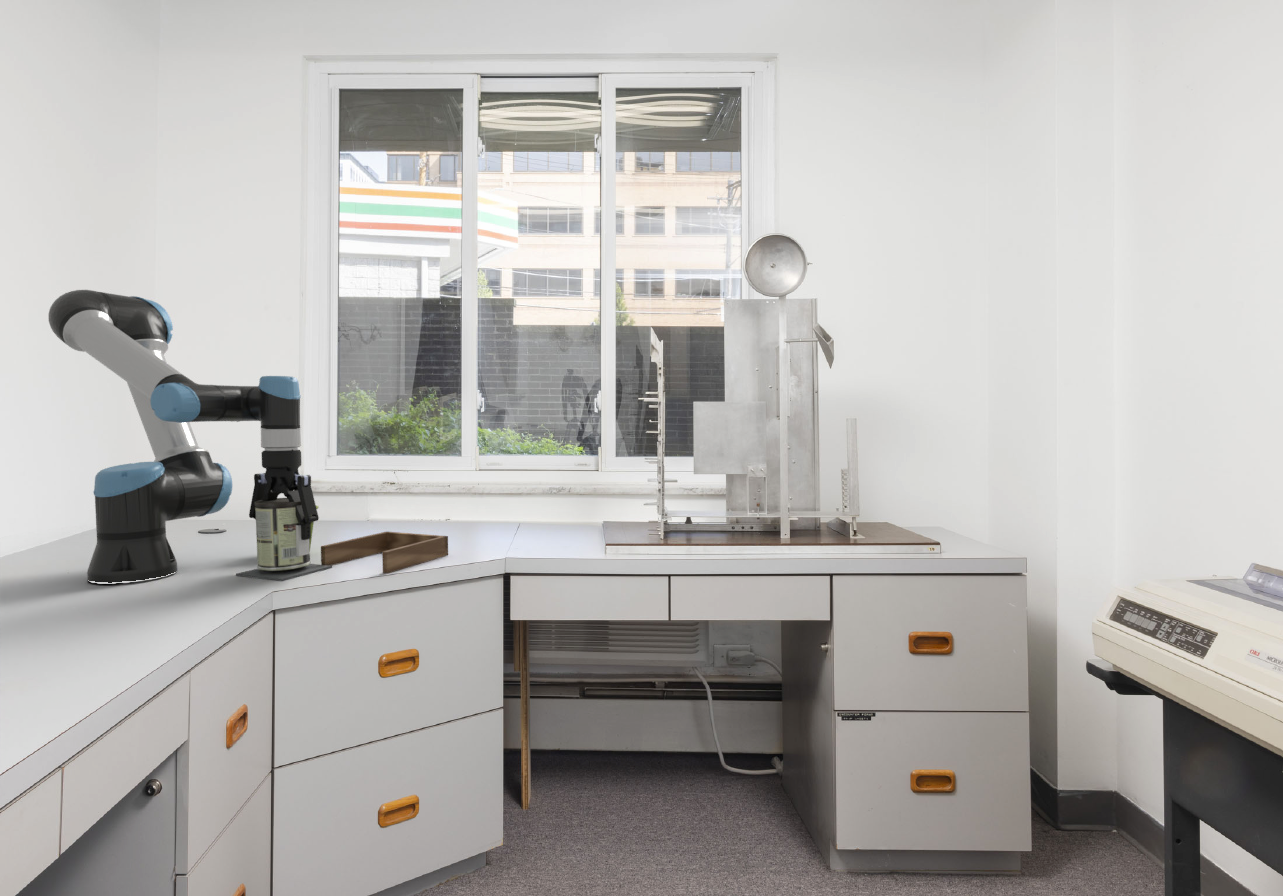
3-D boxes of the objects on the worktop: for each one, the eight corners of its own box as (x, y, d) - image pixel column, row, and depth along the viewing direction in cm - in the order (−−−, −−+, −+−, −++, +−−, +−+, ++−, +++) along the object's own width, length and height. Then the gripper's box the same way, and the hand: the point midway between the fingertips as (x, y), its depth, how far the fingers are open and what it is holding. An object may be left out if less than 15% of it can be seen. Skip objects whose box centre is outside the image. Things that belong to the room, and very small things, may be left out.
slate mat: (236, 575, 147) (235, 573, 147) (288, 563, 159) (288, 561, 159) (281, 580, 142) (281, 578, 142) (332, 567, 154) (331, 565, 154)
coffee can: (285, 559, 157) (283, 496, 156) (321, 562, 154) (319, 498, 153) (245, 569, 148) (242, 502, 147) (282, 572, 144) (279, 504, 143)
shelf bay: (321, 566, 156) (320, 546, 155) (387, 549, 175) (386, 531, 174) (387, 573, 149) (386, 552, 149) (448, 554, 168) (447, 536, 168)
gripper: (335, 449, 149) (338, 553, 150) (258, 447, 157) (261, 546, 158) (306, 451, 142) (309, 560, 143) (227, 449, 150) (230, 552, 151)
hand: (284, 553), depth 151 cm, fingers closed on coffee can, 10 cm apart
